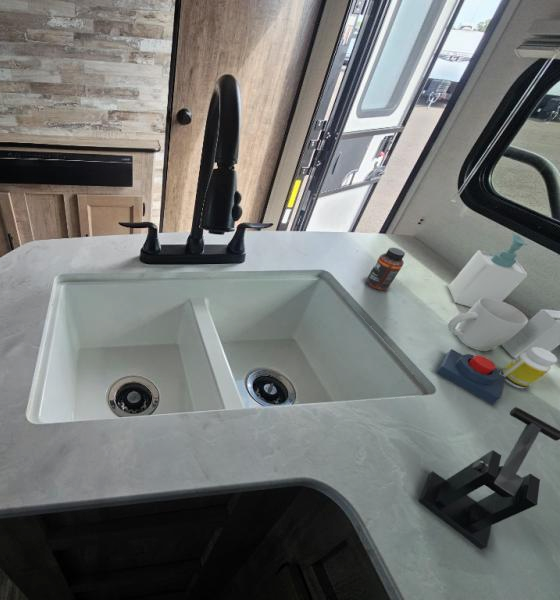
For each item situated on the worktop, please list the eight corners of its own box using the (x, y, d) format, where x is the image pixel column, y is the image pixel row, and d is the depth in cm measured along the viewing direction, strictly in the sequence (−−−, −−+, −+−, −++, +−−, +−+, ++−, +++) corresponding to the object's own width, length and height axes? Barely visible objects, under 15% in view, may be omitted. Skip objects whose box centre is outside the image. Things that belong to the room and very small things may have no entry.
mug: (477, 330, 83) (508, 300, 76) (503, 357, 76) (539, 326, 69) (427, 324, 83) (453, 293, 76) (449, 351, 76) (479, 319, 70)
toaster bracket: (428, 474, 53) (480, 437, 45) (488, 517, 49) (556, 484, 41) (417, 501, 50) (472, 466, 42) (480, 549, 45) (553, 521, 38)
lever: (509, 409, 48) (520, 404, 46) (554, 434, 45) (568, 430, 43) (470, 475, 45) (480, 474, 43) (516, 506, 42) (528, 506, 40)
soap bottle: (481, 295, 95) (535, 237, 83) (490, 313, 89) (550, 253, 77) (447, 286, 98) (494, 228, 85) (454, 302, 91) (506, 242, 79)
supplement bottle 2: (531, 391, 69) (567, 365, 63) (508, 387, 69) (541, 361, 64) (516, 373, 72) (548, 347, 67) (493, 369, 73) (524, 343, 67)
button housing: (444, 355, 75) (456, 343, 72) (498, 383, 69) (512, 371, 67) (435, 372, 70) (447, 360, 68) (492, 404, 65) (507, 393, 62)
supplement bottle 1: (391, 287, 94) (414, 253, 87) (381, 293, 92) (403, 259, 84) (371, 276, 98) (391, 243, 91) (361, 282, 95) (381, 248, 88)
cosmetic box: (524, 347, 79) (569, 310, 71) (539, 362, 76) (587, 324, 68) (499, 344, 79) (540, 307, 71) (512, 359, 76) (558, 321, 68)
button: (470, 357, 70) (476, 352, 68) (490, 368, 68) (497, 363, 67) (466, 366, 68) (472, 360, 66) (487, 377, 66) (494, 372, 64)
